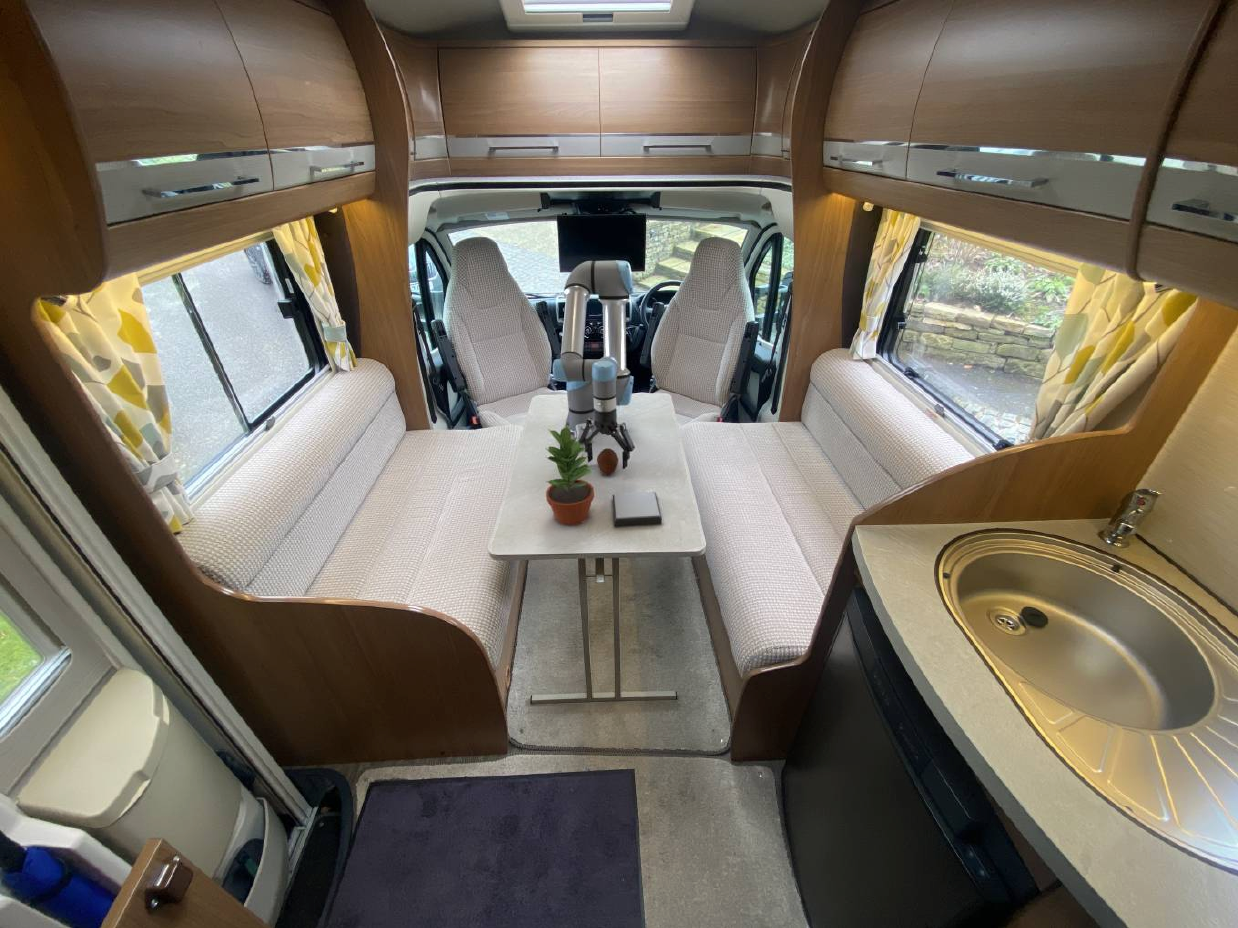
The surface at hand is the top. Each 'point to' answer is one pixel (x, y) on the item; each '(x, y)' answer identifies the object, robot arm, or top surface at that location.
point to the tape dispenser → (581, 431)
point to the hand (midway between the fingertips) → (607, 464)
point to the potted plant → (569, 481)
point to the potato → (607, 461)
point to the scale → (636, 509)
